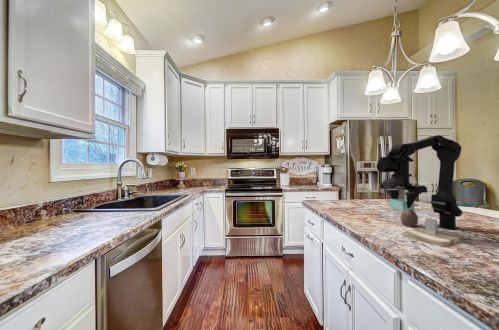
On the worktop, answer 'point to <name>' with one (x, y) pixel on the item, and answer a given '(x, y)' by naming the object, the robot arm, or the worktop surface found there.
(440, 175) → the robot arm
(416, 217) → the vase
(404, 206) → the teal open cube
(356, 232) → the worktop surface
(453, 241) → the board
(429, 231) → the grey rectangular peg
